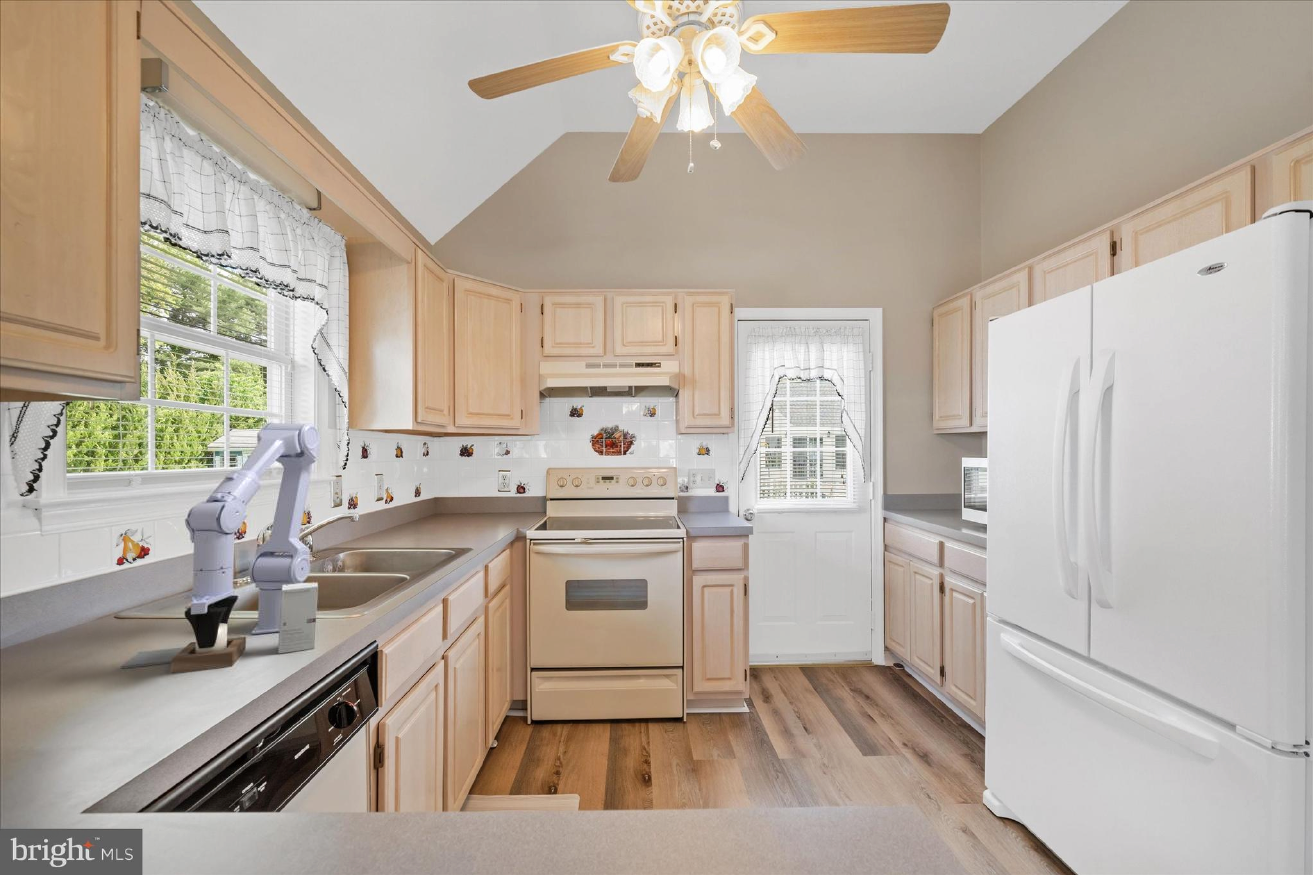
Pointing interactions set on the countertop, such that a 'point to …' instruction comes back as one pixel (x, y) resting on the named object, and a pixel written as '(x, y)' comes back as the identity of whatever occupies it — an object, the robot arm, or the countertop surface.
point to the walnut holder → (208, 657)
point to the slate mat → (152, 657)
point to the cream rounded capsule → (220, 642)
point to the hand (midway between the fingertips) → (211, 642)
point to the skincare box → (298, 617)
